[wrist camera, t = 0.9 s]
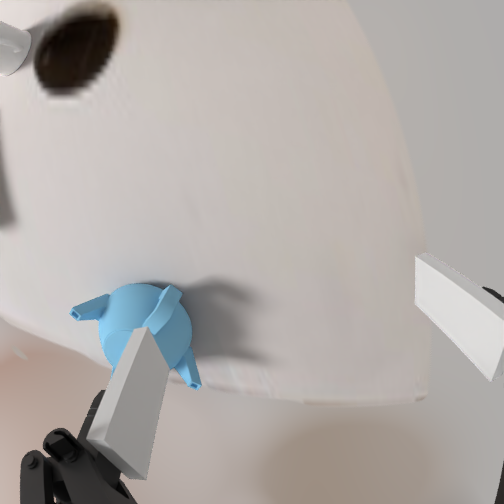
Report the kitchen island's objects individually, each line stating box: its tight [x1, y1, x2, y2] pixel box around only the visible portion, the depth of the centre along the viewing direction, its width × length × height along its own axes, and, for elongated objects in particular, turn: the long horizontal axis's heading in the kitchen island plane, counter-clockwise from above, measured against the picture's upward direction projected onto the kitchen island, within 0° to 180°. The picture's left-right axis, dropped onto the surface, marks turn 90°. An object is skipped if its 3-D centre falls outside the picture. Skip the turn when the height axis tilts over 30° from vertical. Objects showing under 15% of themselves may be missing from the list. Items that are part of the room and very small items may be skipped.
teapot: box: [69, 283, 202, 390], centre depth 36 cm, size 15×15×11 cm
